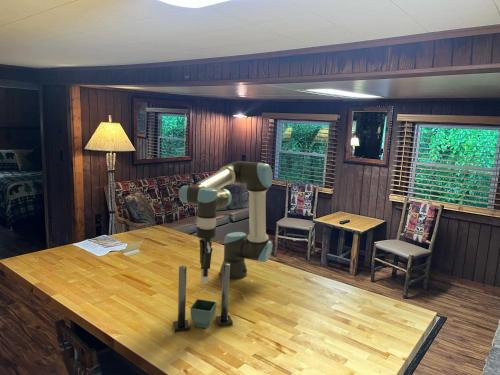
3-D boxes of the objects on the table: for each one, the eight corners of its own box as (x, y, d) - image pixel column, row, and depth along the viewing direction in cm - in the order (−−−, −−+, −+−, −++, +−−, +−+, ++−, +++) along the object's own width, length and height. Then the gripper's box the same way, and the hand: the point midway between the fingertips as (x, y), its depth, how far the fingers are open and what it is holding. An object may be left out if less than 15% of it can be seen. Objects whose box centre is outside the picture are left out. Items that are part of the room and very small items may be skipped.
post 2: (228, 318, 168) (231, 260, 164) (232, 325, 162) (235, 266, 158) (215, 319, 166) (217, 261, 162) (218, 326, 160) (221, 267, 156)
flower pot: (209, 332, 156) (210, 311, 155) (189, 328, 158) (189, 308, 156) (216, 321, 165) (217, 301, 163) (196, 318, 166) (197, 298, 165)
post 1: (187, 323, 162) (189, 264, 158) (189, 330, 156) (191, 269, 152) (172, 324, 160) (174, 265, 156) (174, 332, 154) (176, 270, 150)
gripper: (193, 222, 159) (192, 277, 163) (200, 231, 147) (198, 290, 151) (211, 222, 161) (209, 276, 165) (219, 231, 149) (217, 288, 153)
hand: (204, 282), depth 158 cm, fingers closed
